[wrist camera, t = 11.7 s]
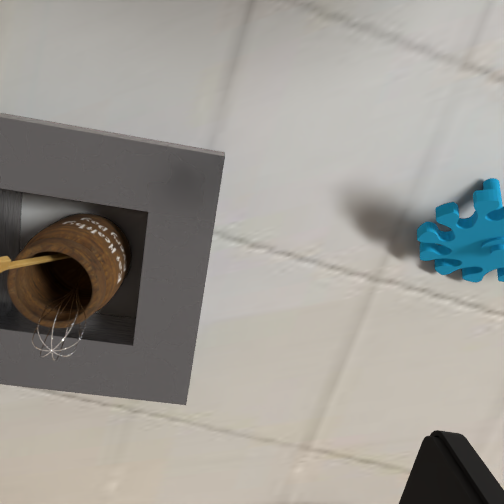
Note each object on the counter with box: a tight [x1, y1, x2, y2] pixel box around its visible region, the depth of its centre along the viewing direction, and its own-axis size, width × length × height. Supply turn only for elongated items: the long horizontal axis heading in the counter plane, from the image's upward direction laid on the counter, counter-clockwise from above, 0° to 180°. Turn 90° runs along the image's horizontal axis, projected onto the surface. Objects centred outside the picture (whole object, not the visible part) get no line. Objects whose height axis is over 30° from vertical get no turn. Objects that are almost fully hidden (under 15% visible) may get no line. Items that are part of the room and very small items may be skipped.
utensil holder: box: [0, 214, 131, 361], centre depth 25 cm, size 6×6×12 cm
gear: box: [417, 178, 504, 282], centre depth 30 cm, size 11×6×10 cm
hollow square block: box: [0, 113, 225, 405], centre depth 29 cm, size 17×17×4 cm
